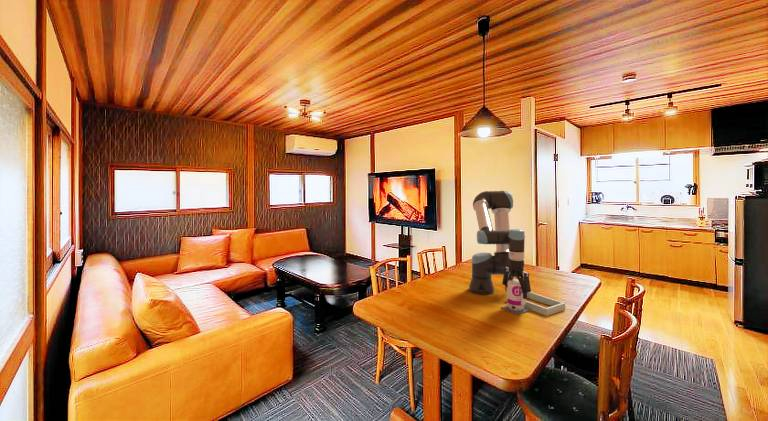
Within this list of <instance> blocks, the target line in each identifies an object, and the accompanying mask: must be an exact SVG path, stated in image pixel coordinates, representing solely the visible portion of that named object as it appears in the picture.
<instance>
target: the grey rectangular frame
mask: <svg viewBox="0 0 768 421" xmlns="http://www.w3.org/2000/svg"><path fill="white" fill-rule="evenodd" d="M527 299H531V300H533V301H537V302H539V303H542V304H545V305H548V307H544V306H542V305H539V304H537V303H534V302H531V301H528V300H526V304H525V305H524V308H527V309H530V310H531V311H533V312H535V313H538V314H540V315H544V316H546V317H548V316H551V315H553V314H557V313H559V312H563V311H565V310H566V303H565V302H563V301H560V300H556V299H553V298H550V297H547V296H544V295H541V294H538V293H536V292H532V291H531V292H528V293H527Z"/></svg>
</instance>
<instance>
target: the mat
mask: <svg viewBox="0 0 768 421" xmlns="http://www.w3.org/2000/svg"><path fill="white" fill-rule="evenodd" d="M501 309H502V310H505V311H508V312H509V313H512V314H514V315H517V316H519V315H521V314H522V315H523V314H525V313H528V312H531V311H532V310H530V309H528V308H525V307H524V309H523V310H522V311H514V310H511V309H509V308H508V307H507V305H504V306H502V307H501Z"/></svg>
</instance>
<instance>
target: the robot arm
mask: <svg viewBox="0 0 768 421" xmlns="http://www.w3.org/2000/svg"><path fill="white" fill-rule="evenodd" d="M513 207H514V199H513V195H512V193H511V191H508V190H492V191H491V190H489V191H488V190H485V191H481V192H480V193H478V194H477V195H476V196H475V197H474V199H473V202H472V209H473V210H474V211H475V215H476V220H477V226H478V230H477V231H476V242H477V244H479V245H495V247H496V250H495V251H494V253H493V254H494V255H493V254H492V253H490V252H478V253H475V254H473V255H472V256H471V279H470V283H469V285H468V291H469V292H471V293H474V294H477V295H491V294H493V293H495V287H494V283H493V281H492V280H493V279H492V276H493V275H495V276H496V275H497V276H498V275H499V276H501V275H502V276H503V278H502V282H501V284H502V285H503V286H505V287H504V288H505V293H506V300H507V294H508V281H509V280H511V279H515V278H516V279H518V280H519V282H520V285H521V289H522V291H523V292H521V305H525V304H526V301H527V299H528V298H527V293H528V292H532V289H531V288H532V287H531V283H530V281H531V280H530V272H527V271H525V270H524V269H525V268H524V267H525V238H526V236H525V235H526V234H525V230H524V229H520V228H519V229H518V228H512V229H510V218H509V217H510V216H509V213H510V212H511V211H512V209H513ZM489 209H490V210H491V213H492V214H494V228H493V224H492V220H491V216H490V212H489Z"/></svg>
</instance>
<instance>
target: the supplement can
mask: <svg viewBox="0 0 768 421" xmlns="http://www.w3.org/2000/svg"><path fill="white" fill-rule="evenodd" d="M521 292H523V291H522V289H521V285H520V282H519V280H518V279H517V278H513V279H511V280H509V281H508V294H507V299H506V300H507V303H506V304H507V305H506V306H507V307H508V308H509V309H511V310H514V311H522V310H523V309H524V308H525V307H524V305H521Z"/></svg>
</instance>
